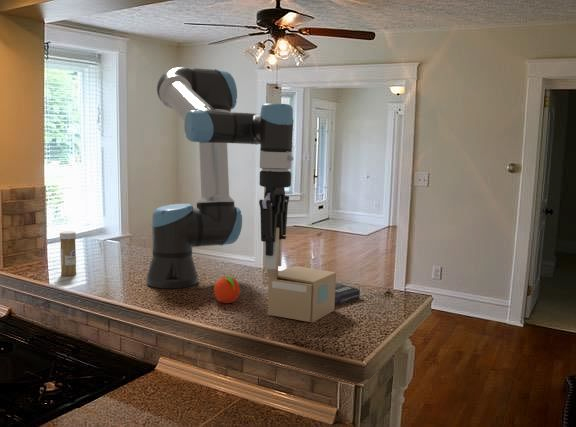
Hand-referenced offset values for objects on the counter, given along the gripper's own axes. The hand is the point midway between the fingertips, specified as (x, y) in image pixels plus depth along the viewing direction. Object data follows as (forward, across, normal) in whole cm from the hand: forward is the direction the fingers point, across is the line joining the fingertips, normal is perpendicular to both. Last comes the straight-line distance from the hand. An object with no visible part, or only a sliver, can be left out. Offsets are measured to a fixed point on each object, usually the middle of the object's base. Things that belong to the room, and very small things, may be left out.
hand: (273, 266), depth 130 cm
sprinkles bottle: (+13, +10, +73) cm, 75 cm away
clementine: (+13, +5, +15) cm, 20 cm away
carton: (+13, +7, -6) cm, 15 cm away
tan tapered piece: (+12, 0, -4) cm, 13 cm away
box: (+13, +23, -4) cm, 27 cm away
